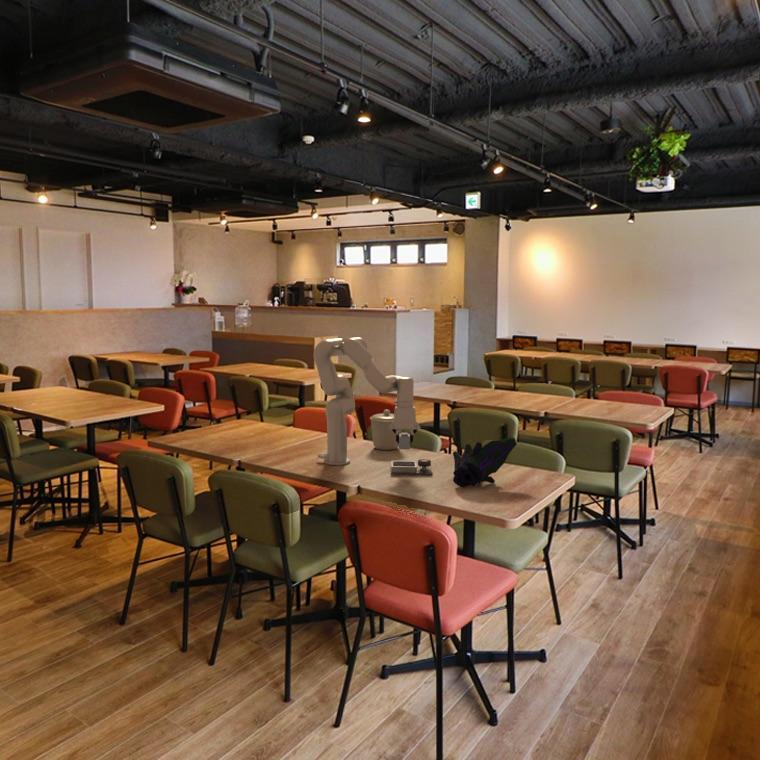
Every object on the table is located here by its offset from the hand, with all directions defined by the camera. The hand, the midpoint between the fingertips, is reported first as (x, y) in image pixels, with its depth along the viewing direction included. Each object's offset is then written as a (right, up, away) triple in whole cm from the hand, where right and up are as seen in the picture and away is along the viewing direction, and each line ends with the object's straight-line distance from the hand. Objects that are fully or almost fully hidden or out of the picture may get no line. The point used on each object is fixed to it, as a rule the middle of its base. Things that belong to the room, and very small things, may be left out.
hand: (404, 442), depth 290 cm
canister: (-8, -8, +47) cm, 49 cm away
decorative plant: (+31, -16, -14) cm, 38 cm away
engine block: (0, -2, 0) cm, 3 cm away
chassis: (+3, -14, +2) cm, 14 cm away
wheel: (+9, -10, +1) cm, 14 cm away
